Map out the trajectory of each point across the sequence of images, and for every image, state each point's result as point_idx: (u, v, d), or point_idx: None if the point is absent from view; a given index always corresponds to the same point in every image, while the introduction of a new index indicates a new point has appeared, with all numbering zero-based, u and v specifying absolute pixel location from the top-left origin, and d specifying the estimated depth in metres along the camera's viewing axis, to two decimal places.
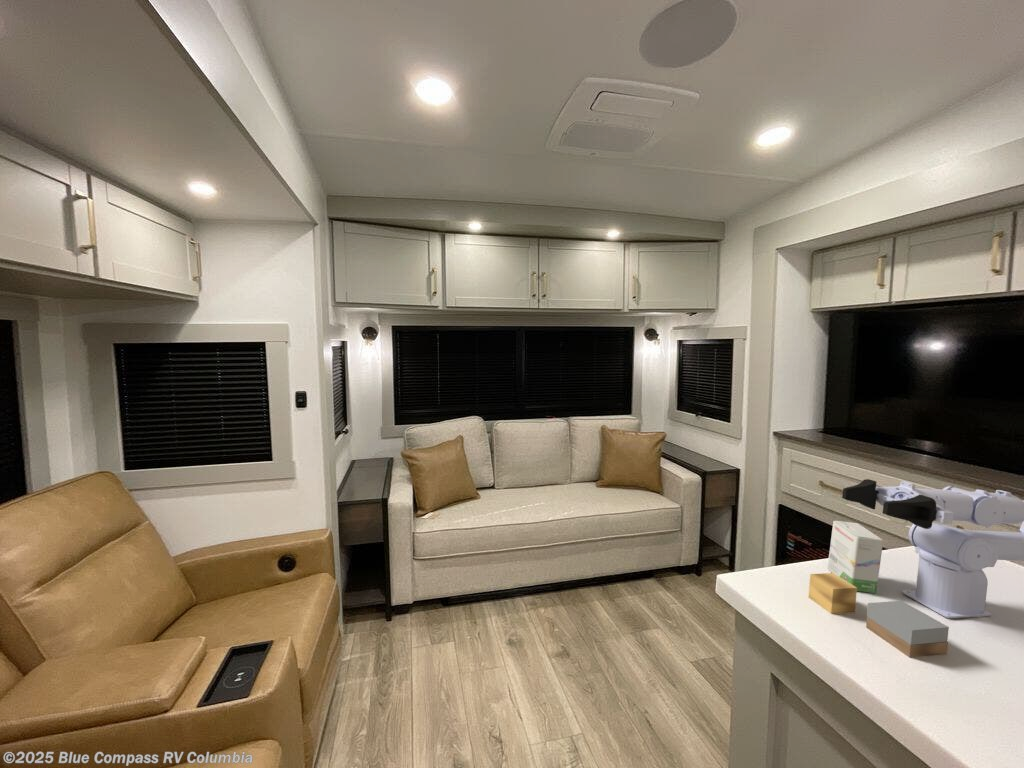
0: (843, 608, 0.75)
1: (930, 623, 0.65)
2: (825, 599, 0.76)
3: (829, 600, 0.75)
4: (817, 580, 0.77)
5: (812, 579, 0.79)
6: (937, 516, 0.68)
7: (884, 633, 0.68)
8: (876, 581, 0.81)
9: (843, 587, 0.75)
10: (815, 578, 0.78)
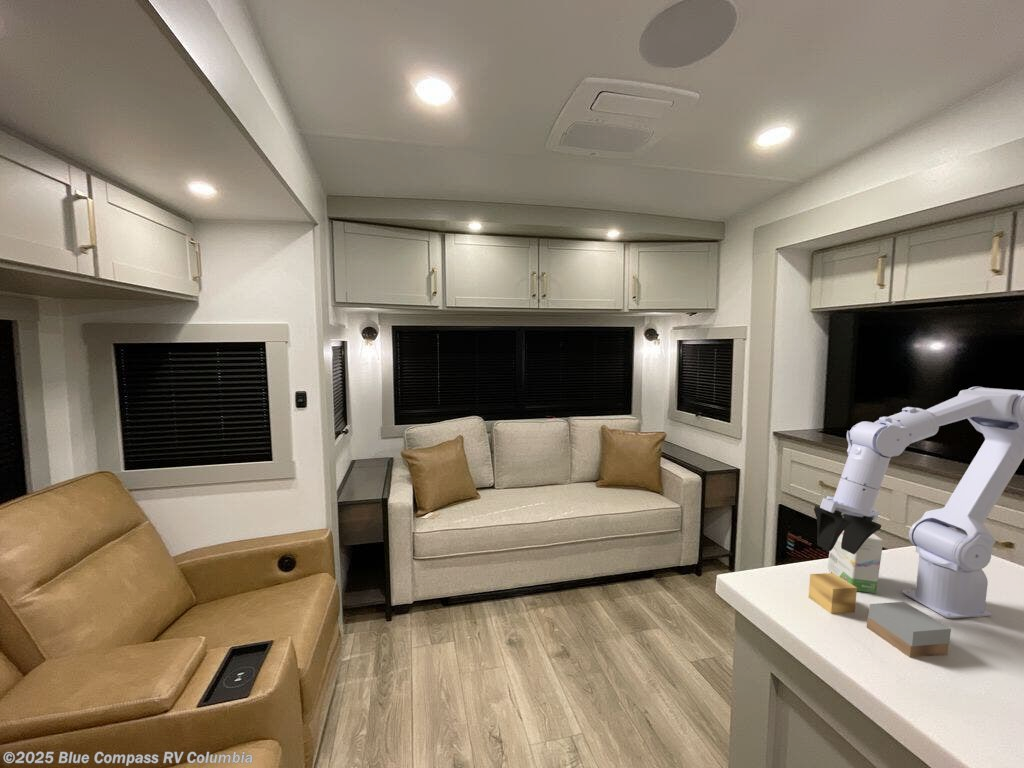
0: (843, 608, 0.75)
1: (932, 625, 0.65)
2: (825, 599, 0.76)
3: (829, 600, 0.75)
4: (817, 580, 0.77)
5: (812, 579, 0.79)
6: (828, 510, 0.73)
7: (885, 633, 0.68)
8: (876, 581, 0.81)
9: (843, 587, 0.75)
10: (815, 578, 0.78)
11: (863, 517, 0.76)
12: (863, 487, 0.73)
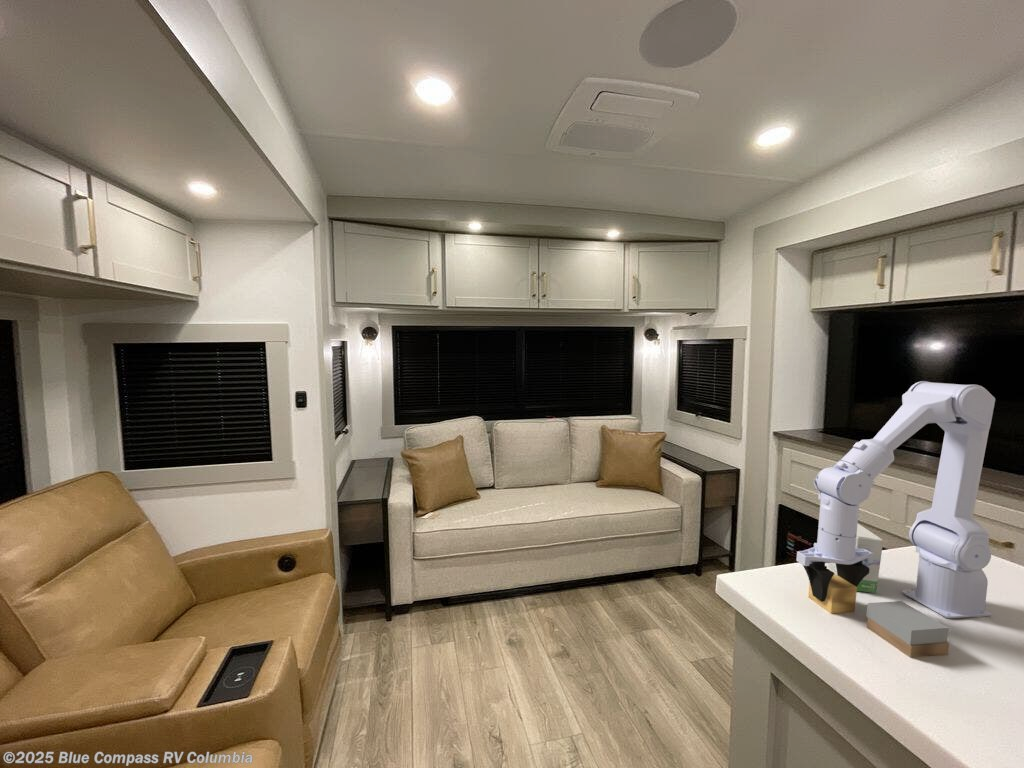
0: (843, 607, 0.75)
1: (929, 624, 0.65)
2: None
3: (829, 599, 0.75)
4: None
5: None
6: None
7: (885, 633, 0.68)
8: (876, 581, 0.81)
9: (843, 586, 0.75)
10: None
11: None
12: (835, 537, 0.74)
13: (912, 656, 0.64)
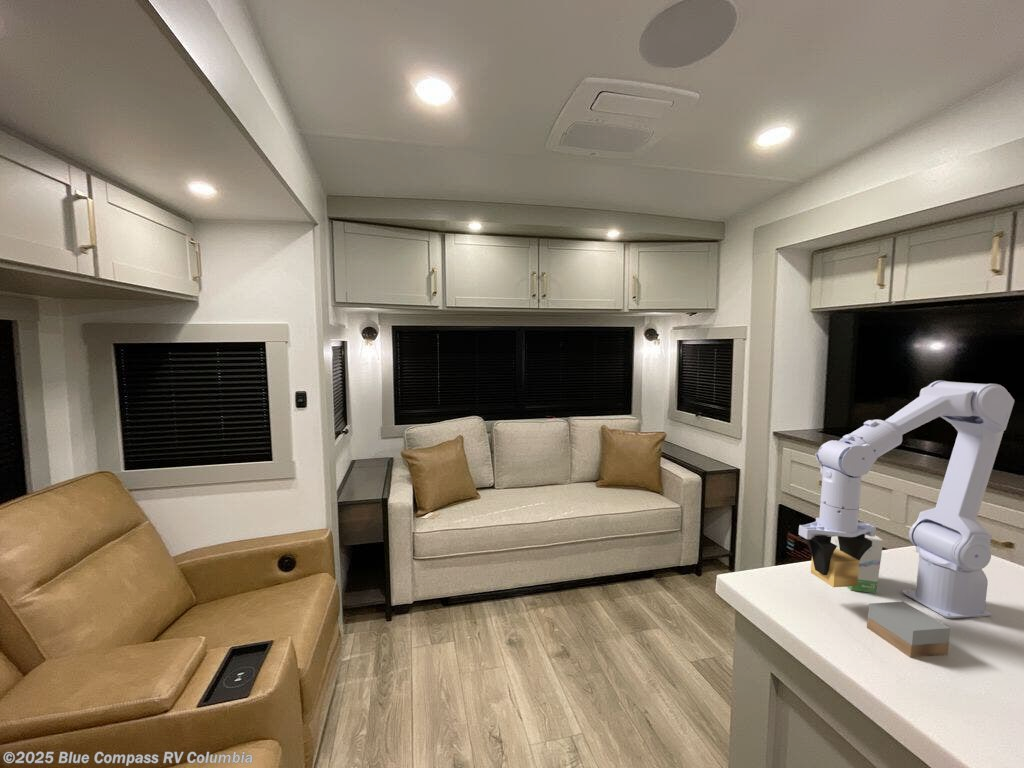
0: (846, 581, 0.74)
1: (931, 624, 0.65)
2: (828, 572, 0.75)
3: (832, 573, 0.74)
4: None
5: None
6: None
7: (885, 633, 0.68)
8: (876, 581, 0.81)
9: (845, 560, 0.74)
10: None
11: (857, 535, 0.76)
12: (837, 509, 0.74)
13: (912, 656, 0.64)
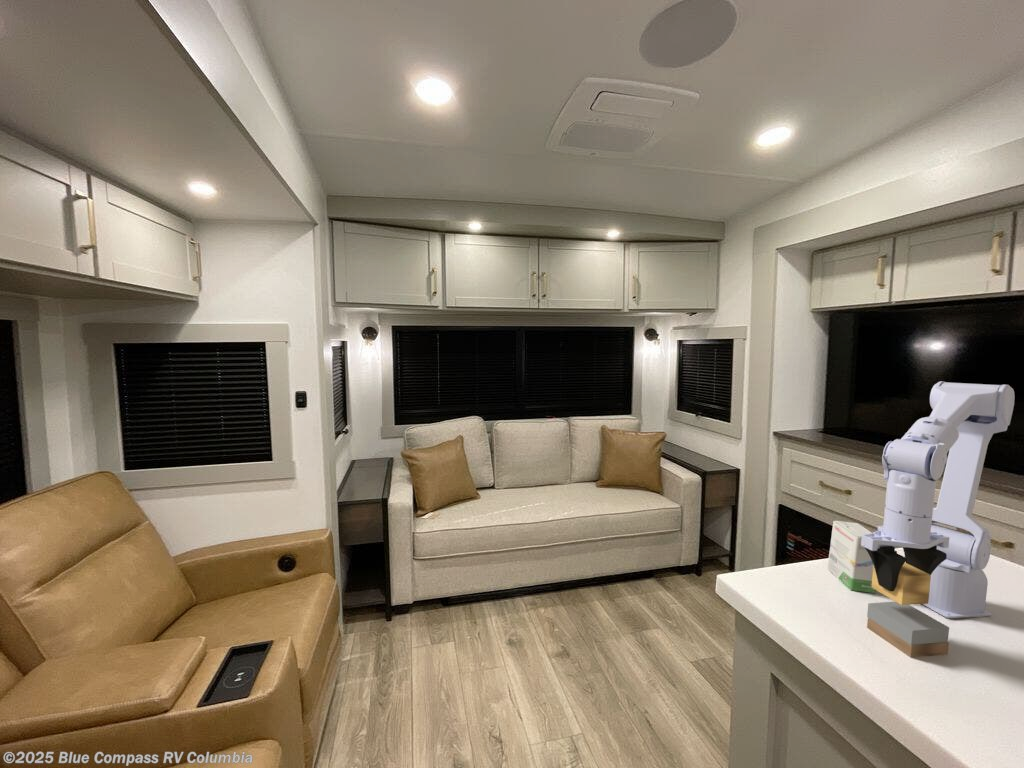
0: (915, 598, 0.66)
1: (930, 623, 0.65)
2: None
3: (899, 589, 0.66)
4: None
5: None
6: None
7: (885, 633, 0.68)
8: None
9: (915, 574, 0.66)
10: None
11: None
12: (908, 517, 0.65)
13: (912, 656, 0.64)
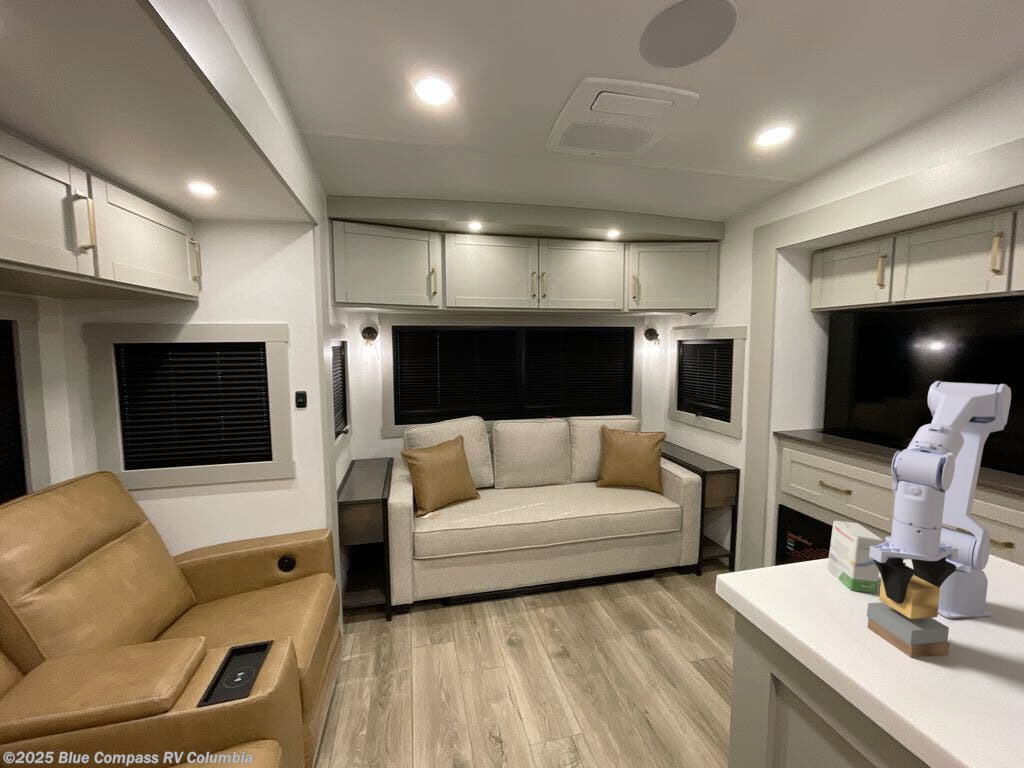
0: (924, 612, 0.65)
1: (930, 624, 0.65)
2: (903, 601, 0.66)
3: (908, 602, 0.65)
4: None
5: None
6: None
7: (886, 633, 0.68)
8: (876, 581, 0.81)
9: (924, 588, 0.65)
10: None
11: None
12: (917, 529, 0.64)
13: (913, 656, 0.64)
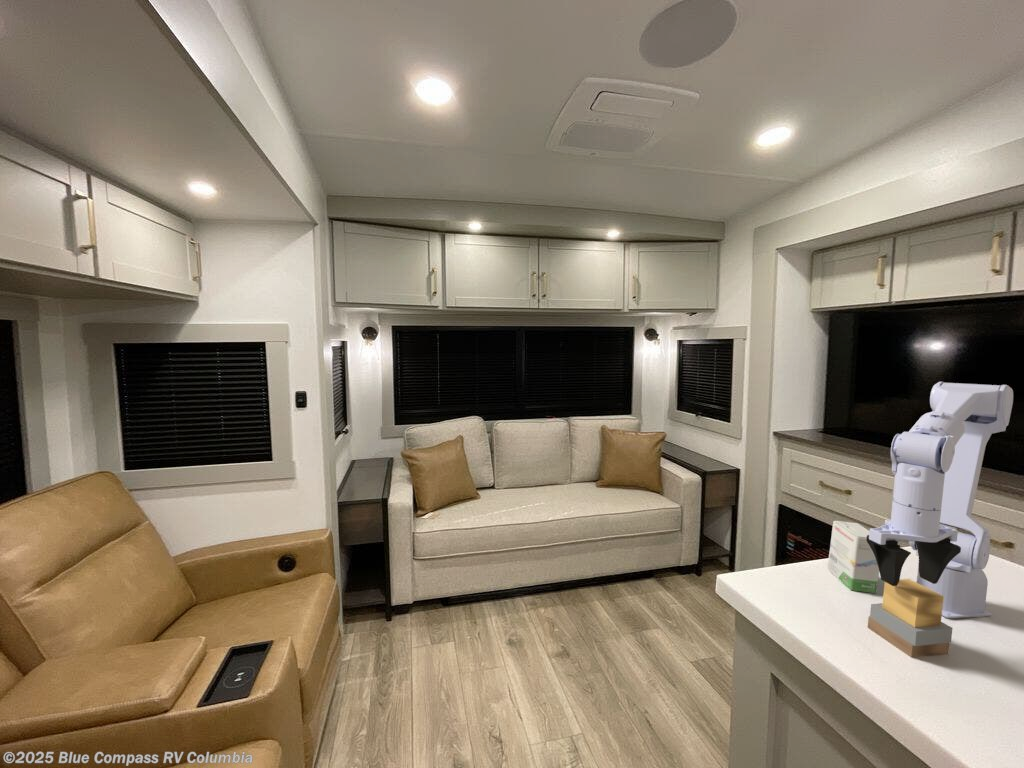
0: (928, 620, 0.64)
1: None
2: (907, 609, 0.65)
3: (912, 610, 0.64)
4: (895, 587, 0.67)
5: (887, 586, 0.68)
6: None
7: (886, 633, 0.68)
8: (876, 581, 0.81)
9: (928, 596, 0.64)
10: None
11: None
12: (917, 510, 0.64)
13: (913, 655, 0.64)
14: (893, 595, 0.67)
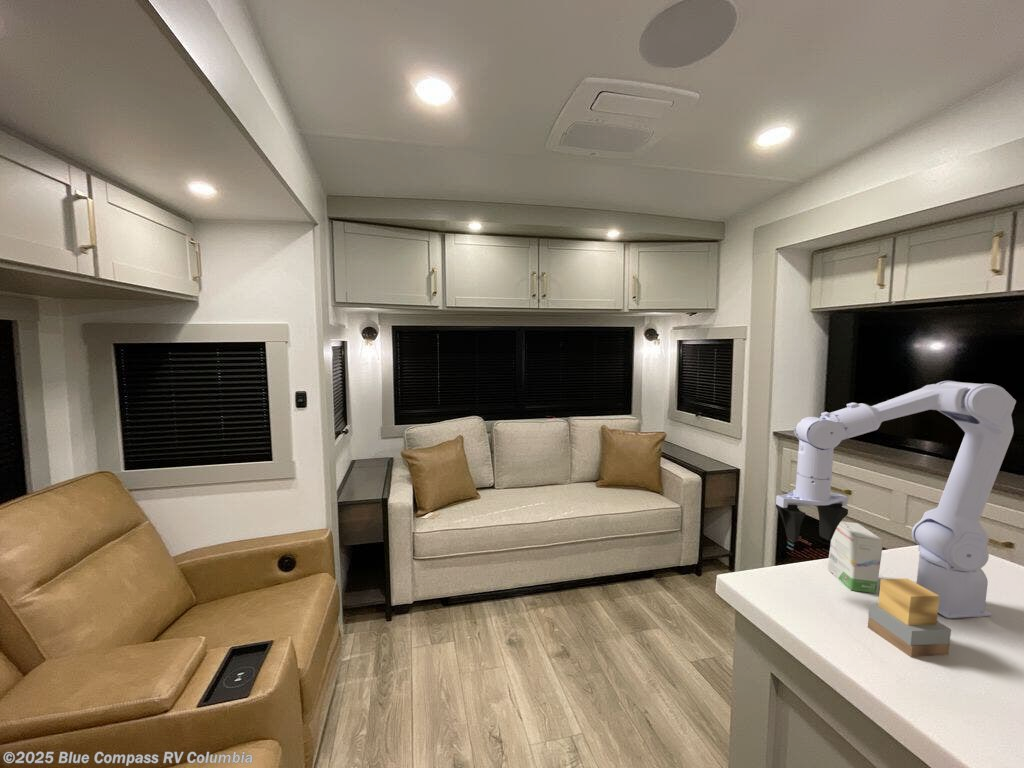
0: (922, 619, 0.65)
1: (932, 625, 0.65)
2: (901, 608, 0.66)
3: (906, 609, 0.65)
4: (890, 586, 0.68)
5: (883, 585, 0.69)
6: None
7: (886, 634, 0.68)
8: (876, 581, 0.81)
9: (922, 595, 0.65)
10: (887, 584, 0.68)
11: (830, 505, 0.82)
12: (811, 480, 0.79)
13: (913, 656, 0.64)
14: (888, 593, 0.68)
